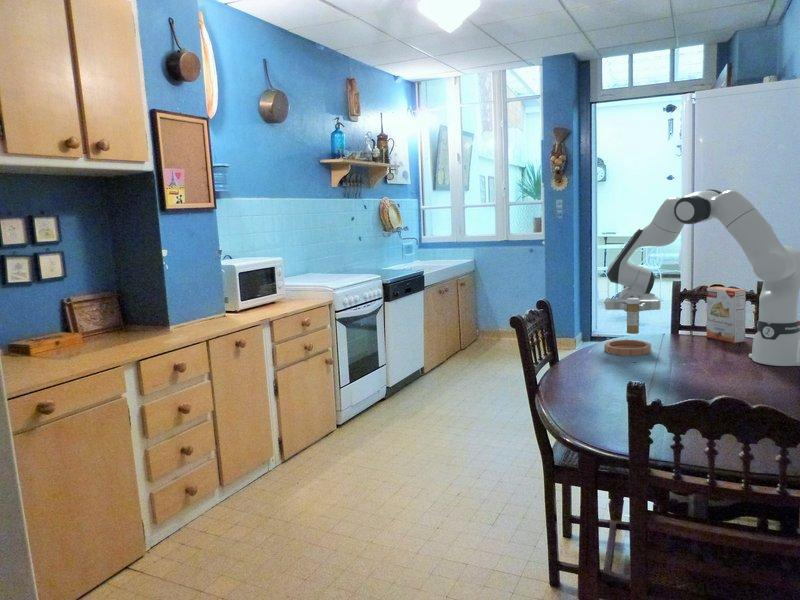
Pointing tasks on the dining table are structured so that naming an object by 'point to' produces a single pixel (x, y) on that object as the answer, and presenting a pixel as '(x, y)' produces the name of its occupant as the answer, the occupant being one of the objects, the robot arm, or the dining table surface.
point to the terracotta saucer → (628, 347)
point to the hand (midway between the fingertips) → (632, 307)
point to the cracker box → (726, 314)
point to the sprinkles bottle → (632, 315)
